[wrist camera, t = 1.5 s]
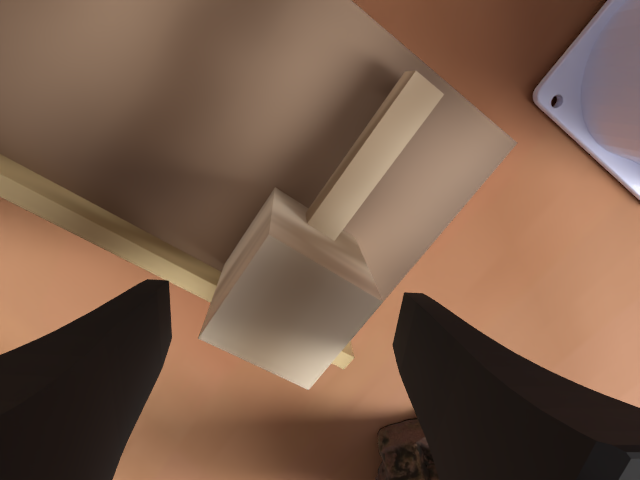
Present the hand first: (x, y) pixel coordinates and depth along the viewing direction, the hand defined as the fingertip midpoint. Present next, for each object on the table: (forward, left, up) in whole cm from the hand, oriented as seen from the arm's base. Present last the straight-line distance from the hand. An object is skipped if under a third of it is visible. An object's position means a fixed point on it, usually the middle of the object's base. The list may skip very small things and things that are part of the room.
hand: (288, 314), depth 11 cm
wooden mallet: (0, -3, -5) cm, 6 cm away
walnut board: (+6, -3, -7) cm, 9 cm away
